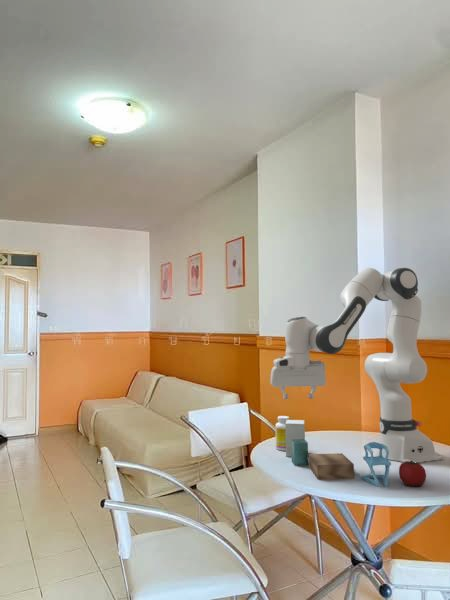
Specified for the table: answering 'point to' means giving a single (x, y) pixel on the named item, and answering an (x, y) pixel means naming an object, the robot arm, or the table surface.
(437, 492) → the table surface
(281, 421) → the supplement bottle
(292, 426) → the supplement box
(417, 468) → the tomato
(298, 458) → the spice tin
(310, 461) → the walnut block
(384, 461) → the chair
